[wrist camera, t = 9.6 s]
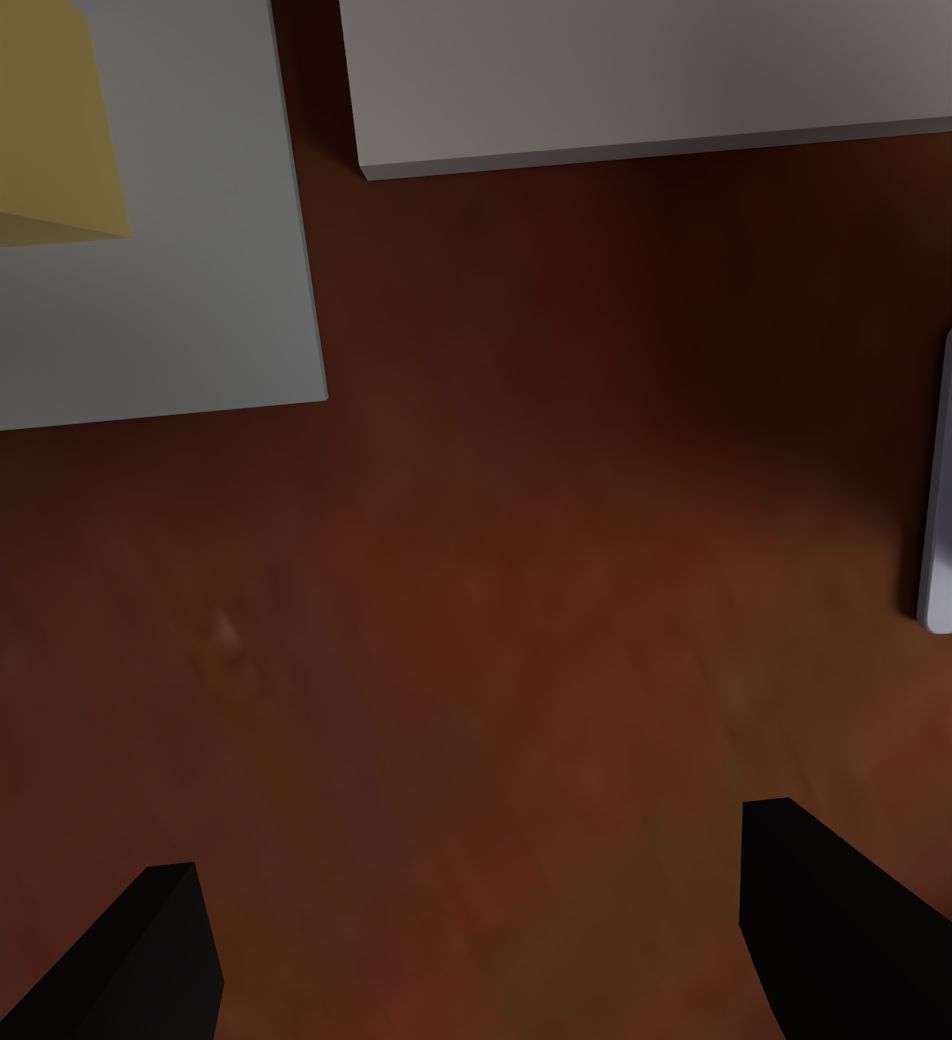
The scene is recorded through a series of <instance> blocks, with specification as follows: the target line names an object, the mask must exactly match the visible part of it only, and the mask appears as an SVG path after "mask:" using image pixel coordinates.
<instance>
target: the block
mask: <svg viewBox="0 0 952 1040" xmlns="http://www.w3.org/2000/svg"><path fill="white" fill-rule="evenodd" d="M123 238H132V237H131V232H130V228H129V223H128V218H127V213H126V208H125V203H124V198H123V193H122V188H121V183H120V178H119V173H118V169H117V164H116V159H115V154H114V149H113V144H112V139H111V134H110V129H109V124H108V119H107V114H106V110H105V105H104V100H103V95H102V90H101V85H100V80H99V75H98V70H97V65H96V60H95V55H94V51H93V46H92V41H91V36H90V31H89V26H88V21H87V16H86V15H85V14H84V13H82V12H81V11H80V10H79V9H77V8H76V7H75V6H74V5H72V4H71V3H70V2H69V1H67V0H0V248H3V247H16V246H29V245H43V244H56V243H69V242H83V241H96V240H110V239H123Z"/></svg>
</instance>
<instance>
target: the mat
mask: <svg viewBox="0 0 952 1040" xmlns="http://www.w3.org/2000/svg"><path fill="white" fill-rule="evenodd" d="M67 1H69V2H70V3H71V4H72V5H74V6H75V7H76V8H77V9H79V10H80V11H81V12H82V13H84V14H85V15H86V16H87V21H88V26H89V31H90V36H91V41H92V46H93V51H94V55H95V60H96V65H97V70H98V75H99V80H100V85H101V90H102V95H103V100H104V105H105V110H106V114H107V119H108V124H109V129H110V134H111V139H112V144H113V149H114V154H115V159H116V164H117V169H118V173H119V178H120V183H121V188H122V193H123V198H124V203H125V208H126V213H127V218H128V223H129V228H130V232H131V237H132V238H123V239H110V240H96V241H83V242H69V243H56V244H43V245H29V246H16V247H3V248H0V431H1V430H12V429H23V428H33V427H44V426H55V425H66V424H77V423H87V422H98V421H109V420H120V419H131V418H141V417H152V416H163V415H174V414H185V413H195V412H206V411H217V410H228V409H238V408H249V407H260V406H271V405H282V404H292V403H303V402H314V401H325V400H326V399H328V398H329V397H328V390H327V383H326V376H325V370H324V363H323V356H322V349H321V342H320V335H319V329H318V322H317V315H316V308H315V301H314V294H313V287H312V281H311V274H310V267H309V260H308V253H307V246H306V240H305V233H304V226H303V219H302V212H301V205H300V198H299V192H298V185H297V178H296V171H295V164H294V157H293V150H292V144H291V137H290V130H289V123H288V116H287V109H286V103H285V96H284V89H283V82H282V75H281V68H280V61H279V55H278V48H277V41H276V34H275V27H274V20H273V14H272V7H271V0H67Z"/></svg>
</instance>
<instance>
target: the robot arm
mask: <svg viewBox="0 0 952 1040" xmlns="http://www.w3.org/2000/svg"><path fill="white" fill-rule="evenodd" d="M917 621H918V622H919V624H920V625H921V626H922V627H924V628H925V629H927V630H928V631H930V632H932V633H933V634H948V633H952V329H951V330H950V331H949V333H948V336H947V339H946V345H945V354H944V363H943V373H942V382H941V391H940V401H939V410H938V419H937V428H936V438H935V447H934V456H933V466H932V475H931V484H930V494H929V503H928V512H927V521H926V531H925V540H924V549H923V559H922V568H921V577H920V587H919V596H918V605H917ZM739 925H740V928H741V931H742V933H743V936H744V939H745V942H746V944H747V947H748V950H749V952H750V955H751V958H752V960H753V963H754V966H755V969H756V971H757V974H758V976H759V979H760V981H761V984H762V987H763V989H764V992H765V994H766V997H767V999H768V1002H769V1004H770V1007H771V1009H772V1011H773V1013H774V1015H775V1017H776V1020H777V1022H778V1024H779V1026H780V1028H781V1030H782V1032H783V1034H784V1036H785V1038H786V1040H952V922H951V921H950V920H948V919H947V918H946V917H944V916H943V915H941V914H940V913H939V912H937V911H936V910H935V909H933V908H932V907H931V906H929V905H928V904H927V903H925V902H924V901H923V900H921V899H920V898H919V897H917V896H916V895H915V894H913V893H912V892H910V891H909V890H908V889H907V888H905V887H904V886H903V885H901V884H900V883H899V882H897V881H896V880H895V879H893V878H892V877H891V876H889V875H888V874H887V873H886V872H884V871H883V870H882V869H880V868H879V867H878V866H876V865H875V864H874V863H873V862H871V861H870V860H869V859H867V858H866V857H865V856H864V855H862V854H861V853H860V852H858V851H857V850H856V849H855V848H853V847H852V846H851V845H849V844H848V843H847V842H846V841H844V840H843V839H842V838H841V837H839V836H838V835H837V834H835V833H834V832H833V831H832V830H830V829H829V828H828V827H827V826H825V825H824V824H823V823H821V822H820V821H819V820H818V819H816V818H815V817H814V816H812V815H811V814H810V813H809V812H807V811H806V810H805V809H803V808H802V807H801V806H799V805H798V804H797V803H795V802H794V801H793V800H792V799H790V798H789V797H787V798H777V799H768V800H759V801H750V802H743V817H742V849H741V881H740V913H739ZM223 988H224V979H223V975H222V971H221V967H220V963H219V959H218V955H217V951H216V947H215V943H214V938H213V934H212V930H211V926H210V922H209V918H208V914H207V910H206V906H205V902H204V898H203V894H202V890H201V886H200V882H199V878H198V874H197V870H196V866H195V862H188V863H179V864H170V865H160V866H151V867H147V868H146V869H145V870H144V871H143V872H142V873H141V874H140V875H139V876H138V877H137V878H136V879H135V880H134V881H133V882H132V883H131V884H130V885H129V886H128V887H127V888H126V889H125V890H124V891H123V892H122V894H121V895H120V896H119V897H118V898H117V899H116V900H115V901H114V902H113V903H112V904H111V905H110V906H109V907H108V908H107V910H106V911H105V912H104V913H103V914H102V915H101V916H100V917H99V918H98V919H97V920H96V921H95V922H94V924H93V925H92V926H91V927H90V928H89V929H88V930H87V931H86V932H85V933H84V934H83V935H82V936H81V937H80V939H79V940H78V941H77V942H76V943H75V944H74V945H73V946H72V947H71V948H70V949H69V950H68V951H67V952H66V954H65V955H64V956H63V957H62V958H61V959H60V960H59V961H58V962H57V963H56V964H55V965H54V966H53V967H52V968H51V969H50V970H49V971H48V972H47V973H46V974H45V976H44V977H43V978H42V979H41V980H40V981H39V982H38V983H37V984H36V985H35V986H34V987H33V988H32V989H31V990H30V991H29V992H28V993H27V994H26V995H25V996H24V997H23V999H22V1000H21V1001H20V1002H19V1003H18V1004H17V1005H16V1006H15V1007H14V1008H13V1009H12V1010H11V1011H10V1012H9V1013H8V1014H7V1015H6V1016H5V1017H4V1018H3V1019H2V1020H1V1021H0V1040H213V1038H214V1033H215V1029H216V1023H217V1018H218V1013H219V1008H220V1003H221V998H222V993H223Z"/></svg>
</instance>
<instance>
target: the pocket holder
mask: <svg viewBox="0 0 952 1040" xmlns="http://www.w3.org/2000/svg"><path fill="white" fill-rule="evenodd" d="M339 3H340V11H341V20H342V28H343V36H344V44H345V52H346V61H347V69H348V77H349V85H350V94H351V102H352V110H353V118H354V127H355V135H356V143H357V151H358V159H359V166H360V168H361V170H362V172H363V173H364V175H365V177H366V178H367V180H368V181H372V180H383V179H395V178H407V177H419V176H430V175H442V174H454V173H466V172H477V171H489V170H501V169H513V168H524V167H536V166H548V165H560V164H572V163H583V162H595V161H607V160H619V159H630V158H642V157H654V156H666V155H677V154H689V153H701V152H713V151H724V150H736V149H748V148H760V147H771V146H783V145H795V144H807V143H819V142H830V141H842V140H854V139H866V138H877V137H889V136H901V135H913V134H924V133H936V132H948V131H952V0H339Z"/></svg>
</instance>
